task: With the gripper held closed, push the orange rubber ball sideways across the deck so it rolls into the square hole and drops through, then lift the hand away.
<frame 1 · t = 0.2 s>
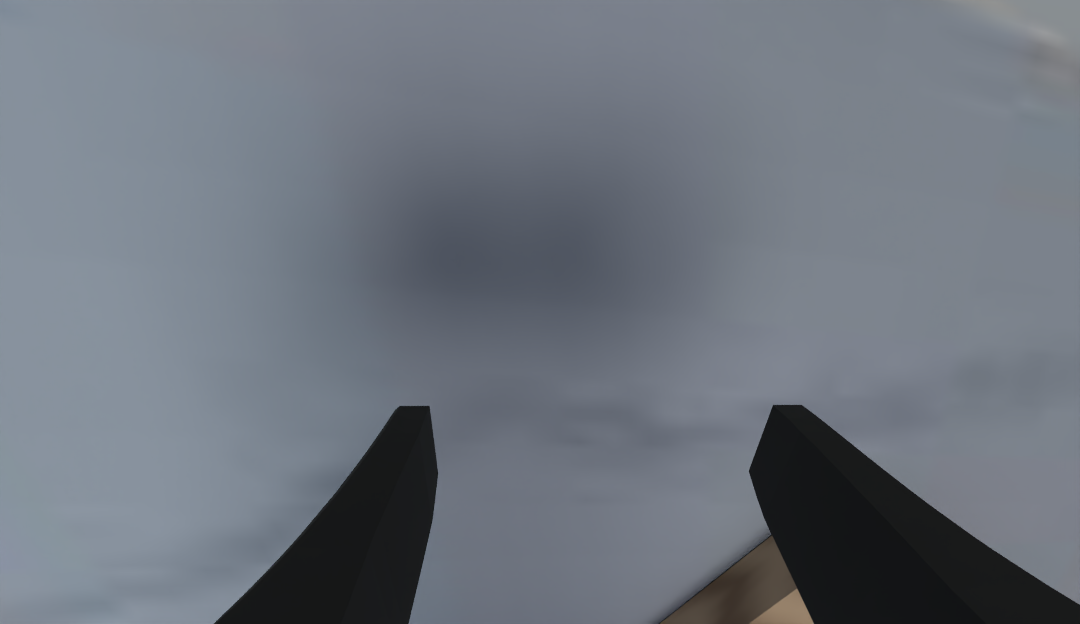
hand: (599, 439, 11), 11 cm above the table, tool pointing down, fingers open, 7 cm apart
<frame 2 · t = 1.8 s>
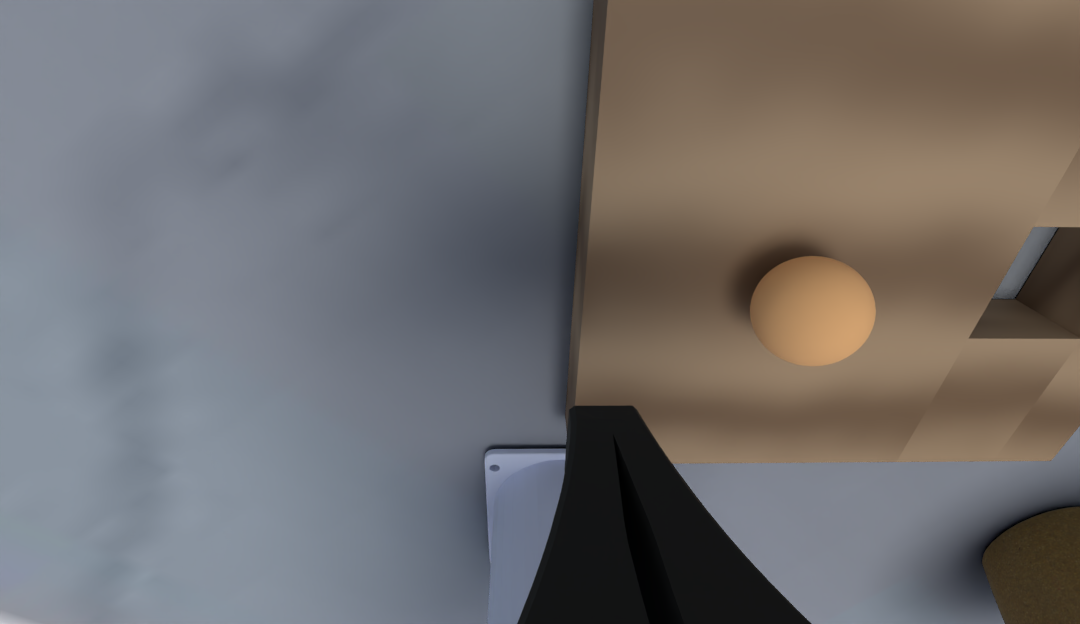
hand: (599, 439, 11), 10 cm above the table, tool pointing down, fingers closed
ball: (809, 311, 16), point 5 cm above the table, touching deck
deck: (848, 250, 20), on the table
plant pot: (1042, 540, 31), on the table
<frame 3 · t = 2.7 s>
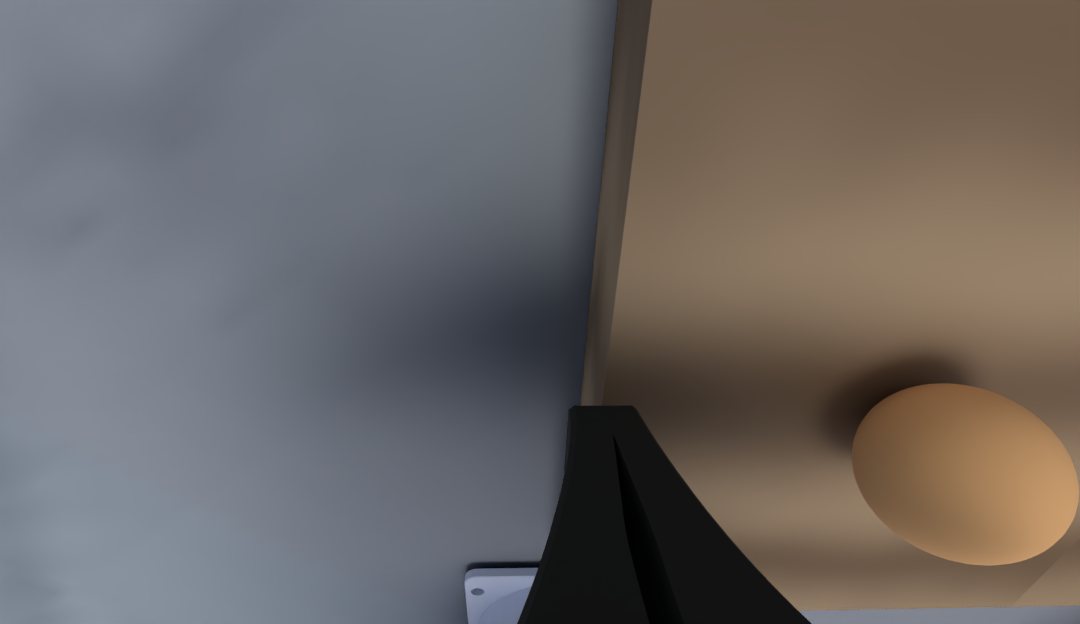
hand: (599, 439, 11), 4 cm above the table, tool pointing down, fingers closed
ball: (952, 469, 10), point 5 cm above the table, touching deck
deck: (965, 336, 14), on the table
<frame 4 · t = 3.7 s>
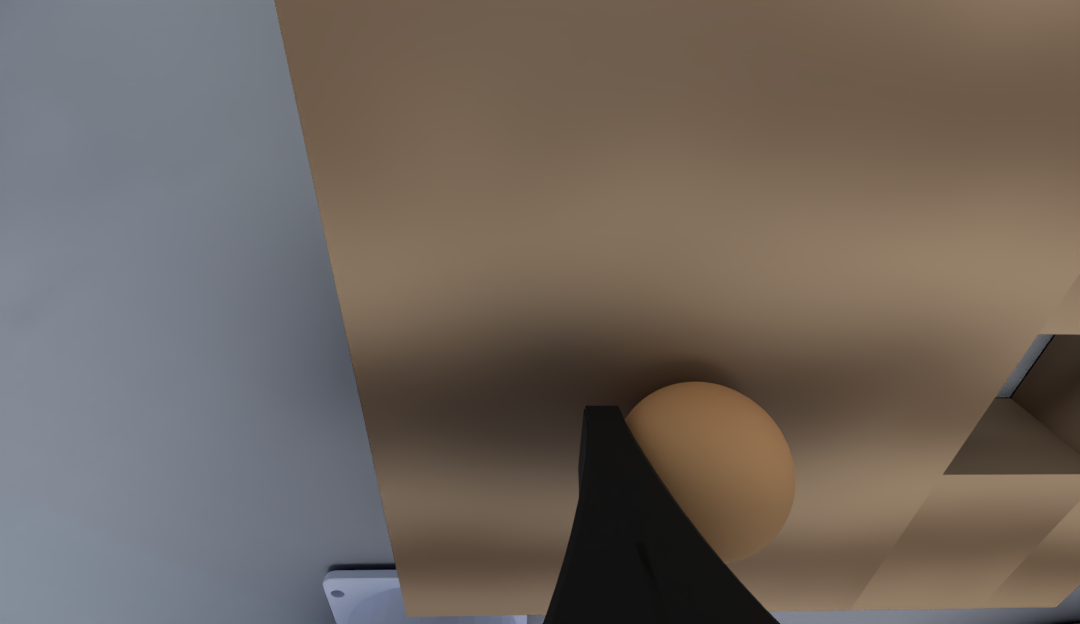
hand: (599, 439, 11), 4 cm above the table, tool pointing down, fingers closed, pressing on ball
ball: (699, 468, 10), point 5 cm above the table, tilted 8°, touching deck, gripper
deck: (777, 338, 14), on the table
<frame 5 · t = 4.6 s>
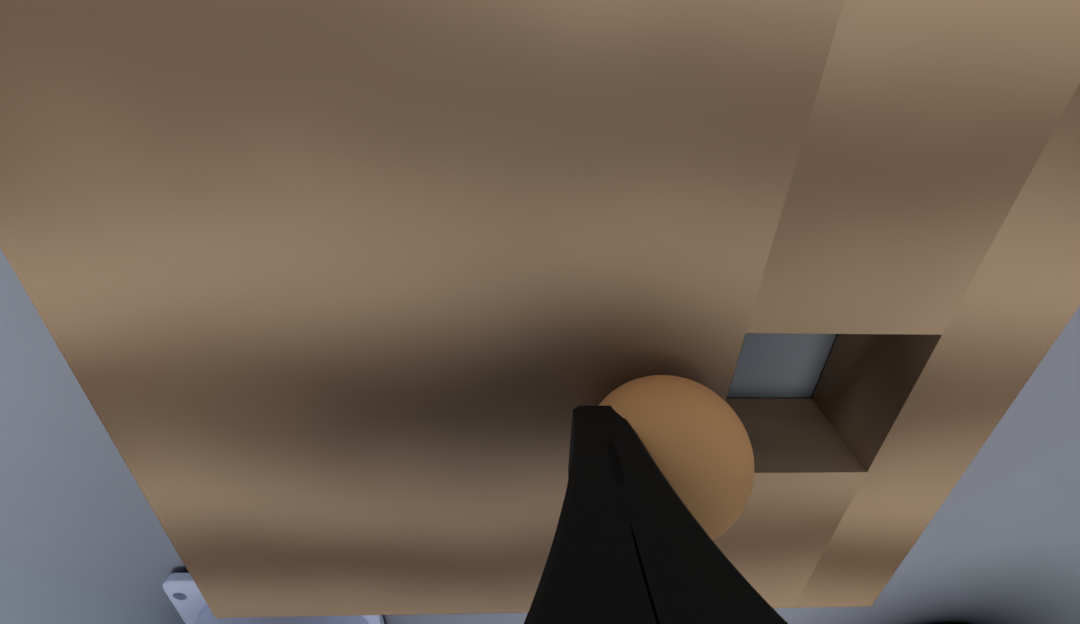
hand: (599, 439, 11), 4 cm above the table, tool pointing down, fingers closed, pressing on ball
ball: (664, 458, 10), point 5 cm above the table, tilted 163°, touching deck, gripper
deck: (561, 339, 14), on the table
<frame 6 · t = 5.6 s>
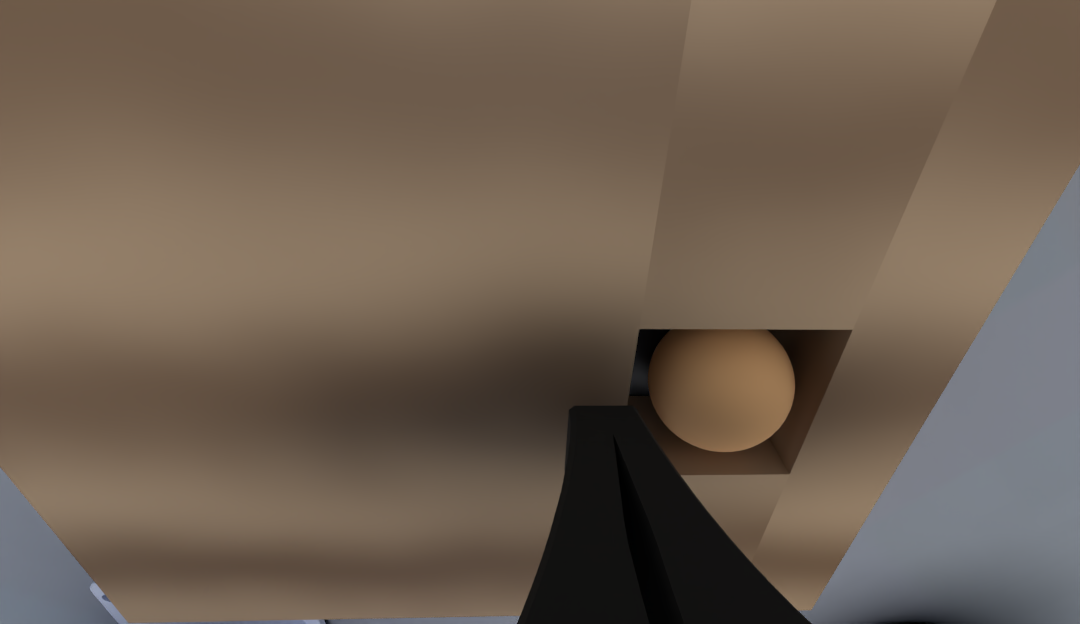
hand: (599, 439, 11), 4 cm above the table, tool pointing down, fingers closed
ball: (717, 381, 13), point 2 cm above the table, tilted 83°
deck: (473, 335, 14), on the table
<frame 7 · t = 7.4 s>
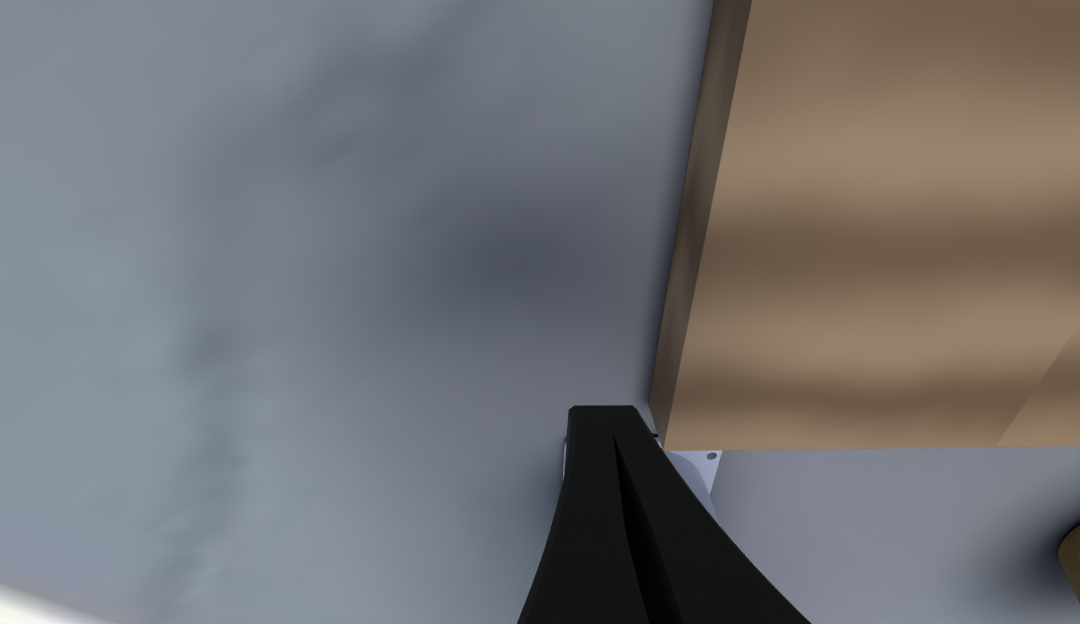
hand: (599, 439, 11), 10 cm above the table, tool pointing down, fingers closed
deck: (952, 229, 20), on the table
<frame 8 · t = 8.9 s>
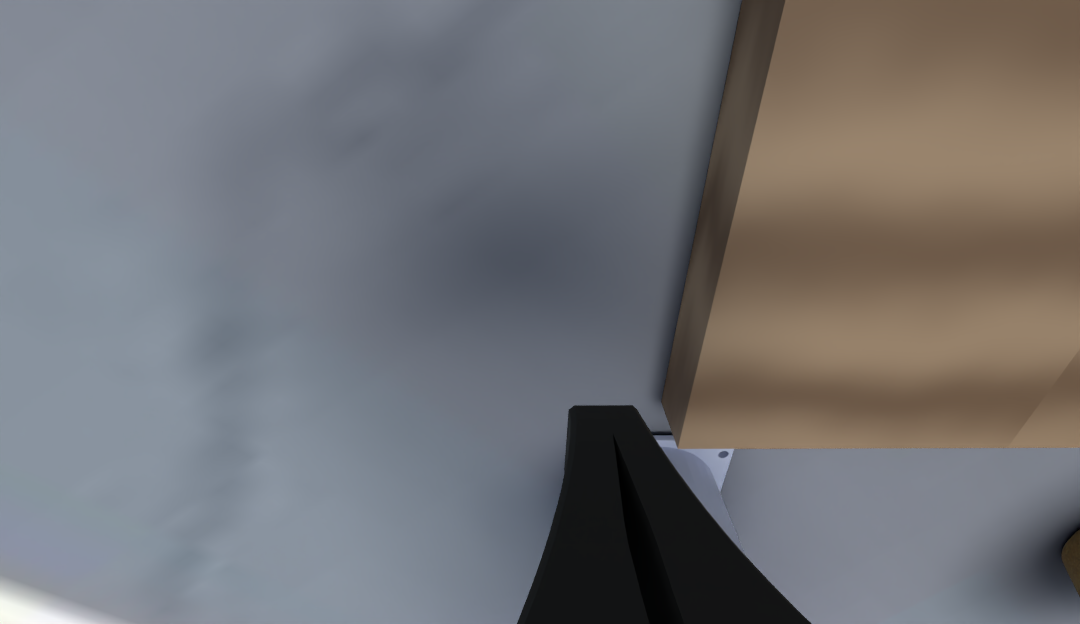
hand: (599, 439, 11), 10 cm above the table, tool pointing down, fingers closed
deck: (970, 230, 20), on the table
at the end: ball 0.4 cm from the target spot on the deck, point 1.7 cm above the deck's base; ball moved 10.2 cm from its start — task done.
